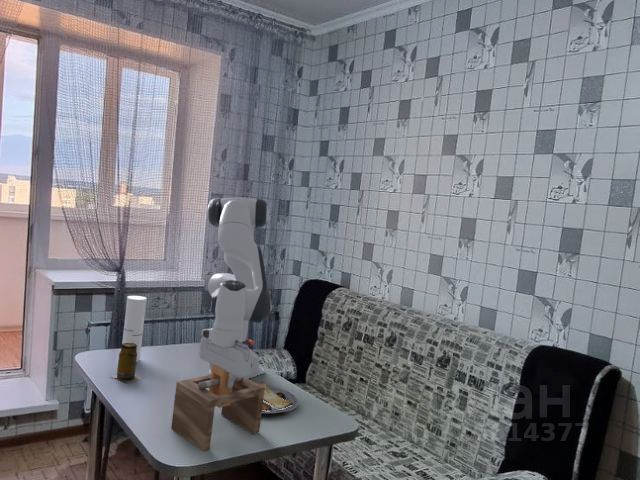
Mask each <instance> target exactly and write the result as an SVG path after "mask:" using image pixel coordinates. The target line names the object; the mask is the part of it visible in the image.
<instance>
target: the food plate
mask: <svg viewBox="0 0 640 480" xmlns="http://www.w3.org/2000/svg"><path fill="white" fill-rule="evenodd" d="M258 384H259V385H261V386H263V387H265V391H264V398H263V400H264V401H266V402H268V403H270V404H271V405H273V406H274V407H276V408H278V409H282V408H286V407H288V406H290V405H292V406H291V407H288V408H286V409H284V410H279V411H278V410H273V408H272V407H271V406H270V405H268V404H266V403H264V402H263V406H262V410H266V411H267V410H272V411H270V412H265V411H264V412H263V411H262V414H276V413H277V414H278V413H279V414H281V413H285V412H290V411H293V410H294V409H296V408H297V407H298V405H299V401H298V398H297V397H296V396H295V395H294V394H293V393H291V392H289V391H288V390H285V389H283V388H282V387H278V386H273V385H270V384H266V383H265V381H261V382H260V383H258ZM282 398H283V399H284V400H283V399H282ZM285 400H286V401H285ZM281 403H282V404H281Z"/></svg>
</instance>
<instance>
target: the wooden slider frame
mask: <svg viewBox="0 0 640 480" xmlns="http://www.w3.org/2000/svg"><path fill="white" fill-rule="evenodd" d="M220 379H221V378H218V379H213V380H211V374H209V375H203V376H198V377H193V378H188V379H183V380H179V381H178V380H177V381H176V385H175V391H174V392H175V394H174V401H173V402H174V403H173V408H172V409H173V410H172V419H171V427H170V428H171V429H172V430H173V431H174V432H176V433H177V434H178V435H180V436H181V437H183V438H184V439H186V440H187V441H189V443H191V444H193V445H194V446H195V447H197V448H198V449H200V450H201V451H202V452H205V451H209V450H210V449H211V441H212V434H213V433H212V432H213V423H214V416H215V409H216V408H215V407H217V406H219V405H223V404H227V403H230V405H228V406H224V407H221V413H220V415H221V416H222V415H223V417H224V416H225V417H224V418H226V419H227V418H228V419H227V420H229V419H230V422H232V421H233V422H232V423H234V422H235V423H234V424H235V425H237V424H238V426H239V425H240V426H239V427H241V428H242V427H243V429H244V428H245V429H244V430H245V431H247V430H248V431H247V432H249V431H250V432H249V433H251V432H252V433H253V434H252V433H251V434H252V435H256V434H255V433H257V434H259V433H260V428H261V421H262V414H263V413H262V412H263V411H262V406H263V398H264V391H265V387H263V386H261V385H259V383H256V382H254V381H253V380H251V379H247V378H245V377H244V378H238V377H236V379H235V380H234V383H233V387H232V392H230V393H226V394H222V395H218V396H217V395H215V394H214V393H212V392H210V391H209V388H210V387H215V386H219V385H220ZM258 432H259V433H258Z"/></svg>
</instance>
